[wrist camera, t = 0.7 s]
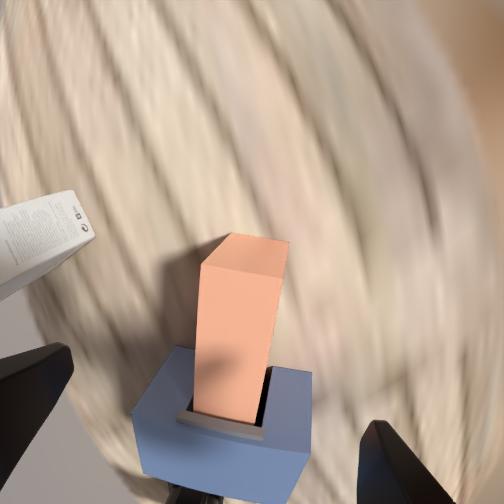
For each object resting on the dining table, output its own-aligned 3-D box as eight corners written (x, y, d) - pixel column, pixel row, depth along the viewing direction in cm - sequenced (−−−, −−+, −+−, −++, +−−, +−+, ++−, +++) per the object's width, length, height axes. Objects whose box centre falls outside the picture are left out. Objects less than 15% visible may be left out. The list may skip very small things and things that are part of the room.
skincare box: (73, 185, 20) (-69, 221, 8) (100, 238, 21) (-35, 307, 9) (32, 226, 22) (-84, 273, 10) (56, 273, 22) (-55, 339, 11)
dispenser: (291, 433, 23) (284, 506, 16) (176, 409, 24) (143, 473, 17) (313, 368, 21) (312, 449, 14) (175, 340, 22) (130, 407, 15)
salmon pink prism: (258, 403, 23) (245, 462, 17) (214, 394, 23) (192, 450, 17) (289, 242, 19) (283, 278, 13) (231, 232, 19) (200, 264, 13)
